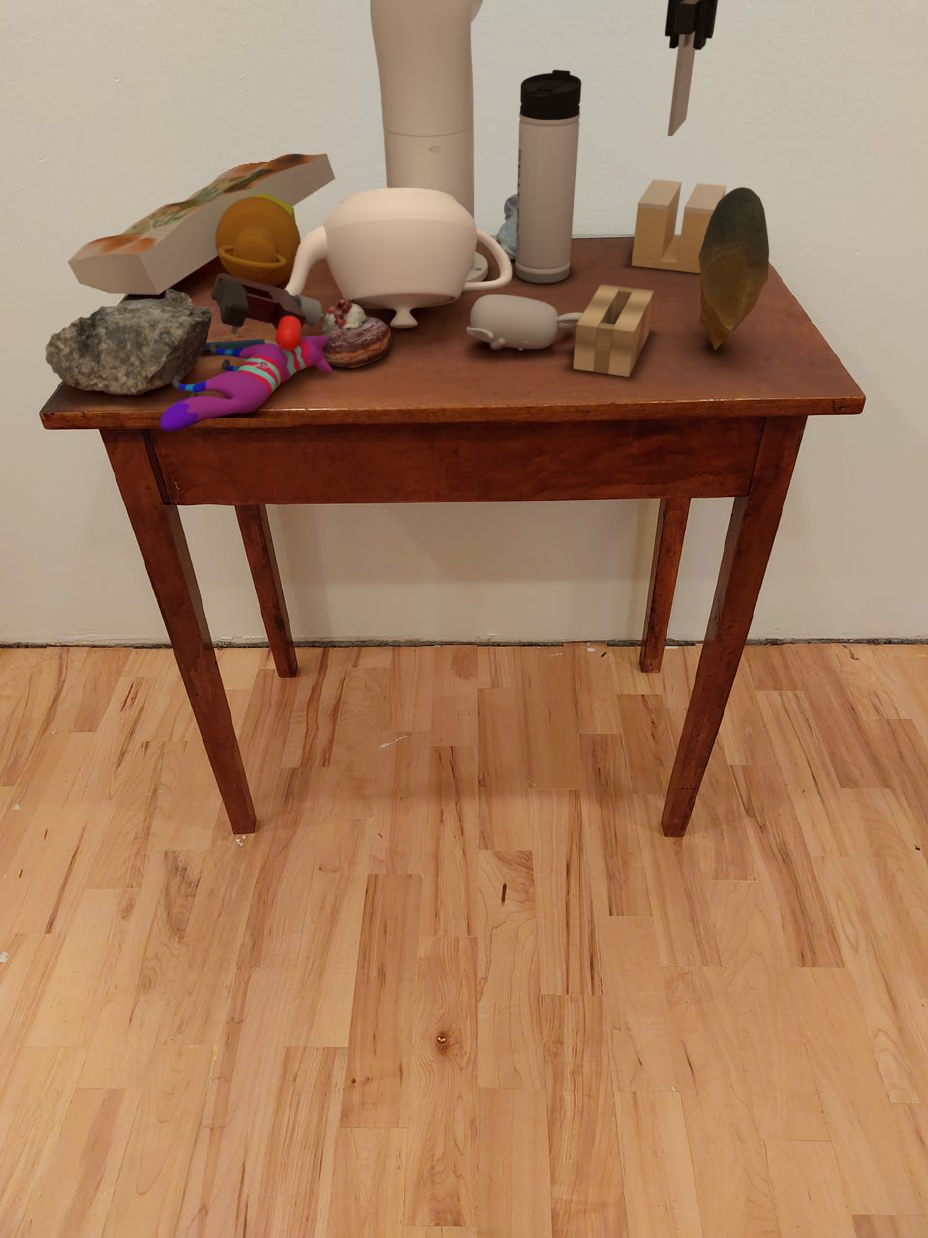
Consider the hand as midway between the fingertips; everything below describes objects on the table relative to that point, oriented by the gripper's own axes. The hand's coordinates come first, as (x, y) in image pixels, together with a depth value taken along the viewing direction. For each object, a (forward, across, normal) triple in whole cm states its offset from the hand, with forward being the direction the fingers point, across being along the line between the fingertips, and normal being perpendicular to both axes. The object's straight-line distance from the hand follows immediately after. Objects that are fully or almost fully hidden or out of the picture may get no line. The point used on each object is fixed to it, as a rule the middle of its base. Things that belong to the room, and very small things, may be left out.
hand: (687, 44), depth 88 cm
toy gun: (+16, -27, -34) cm, 46 cm away
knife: (+7, 0, 0) cm, 7 cm away
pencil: (+23, -38, -32) cm, 55 cm away
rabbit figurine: (+23, -9, -20) cm, 32 cm away
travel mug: (+23, -13, -1) cm, 27 cm away
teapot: (+11, -25, -17) cm, 32 cm away
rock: (+17, -39, -44) cm, 61 cm away
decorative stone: (+23, +9, -14) cm, 29 cm away
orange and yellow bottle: (+23, -42, -14) cm, 50 cm away
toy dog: (+21, -34, -40) cm, 56 cm away
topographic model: (+21, -52, -9) cm, 56 cm away
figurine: (+23, -17, +7) cm, 30 cm away
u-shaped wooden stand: (+23, 0, +9) cm, 25 cm away
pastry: (+23, -24, -27) cm, 43 cm away
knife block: (+23, -1, -18) cm, 29 cm away
